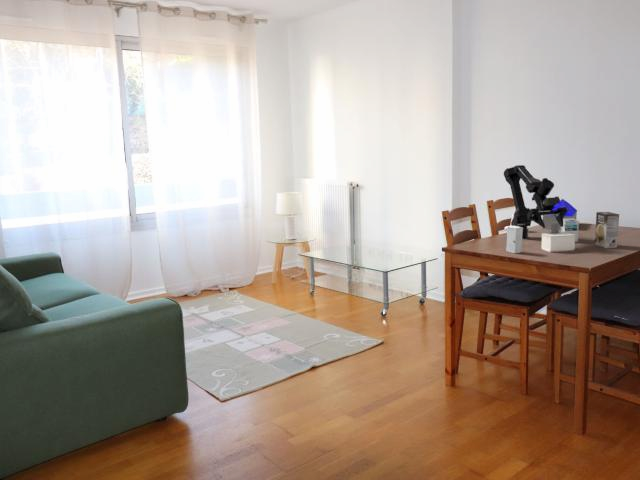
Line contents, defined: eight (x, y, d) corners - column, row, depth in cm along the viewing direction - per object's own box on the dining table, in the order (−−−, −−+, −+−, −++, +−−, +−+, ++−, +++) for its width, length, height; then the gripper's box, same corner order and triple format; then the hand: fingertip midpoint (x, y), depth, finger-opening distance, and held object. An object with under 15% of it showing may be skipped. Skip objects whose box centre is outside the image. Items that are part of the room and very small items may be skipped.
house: (548, 222, 352) (549, 197, 349) (576, 224, 344) (577, 198, 341) (541, 229, 330) (542, 202, 327) (572, 230, 322) (573, 202, 320)
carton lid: (541, 234, 272) (541, 223, 271) (565, 232, 273) (565, 221, 272) (550, 237, 263) (551, 225, 262) (575, 235, 265) (576, 224, 264)
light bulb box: (578, 242, 286) (579, 221, 284) (564, 242, 288) (564, 221, 286) (573, 238, 297) (574, 218, 295) (559, 238, 298) (560, 218, 296)
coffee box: (594, 244, 279) (595, 212, 276) (606, 244, 279) (608, 211, 276) (604, 248, 270) (606, 214, 267) (617, 247, 270) (619, 213, 267)
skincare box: (505, 251, 270) (506, 226, 268) (513, 250, 272) (513, 225, 270) (515, 253, 264) (515, 227, 262) (522, 252, 266) (523, 227, 264)
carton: (541, 249, 273) (541, 234, 271) (564, 247, 274) (565, 233, 273) (550, 252, 265) (550, 237, 264) (574, 250, 266) (574, 235, 265)
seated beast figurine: (503, 230, 330) (503, 209, 328) (517, 229, 331) (518, 208, 328) (510, 232, 321) (510, 211, 318) (525, 232, 321) (525, 210, 319)
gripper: (530, 192, 273) (541, 217, 264) (566, 190, 276) (579, 215, 267) (521, 206, 282) (532, 231, 273) (557, 204, 285) (568, 229, 276)
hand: (553, 226), depth 272 cm, fingers open, 9 cm apart
